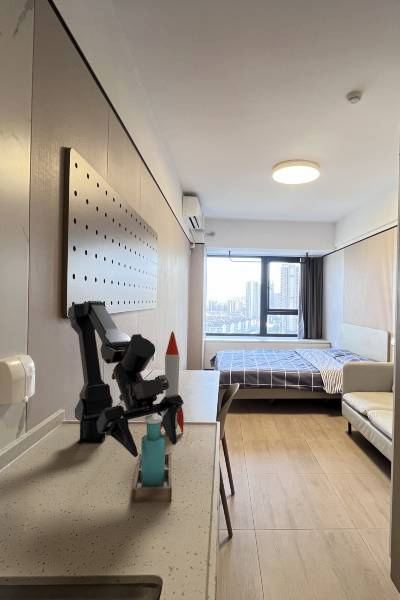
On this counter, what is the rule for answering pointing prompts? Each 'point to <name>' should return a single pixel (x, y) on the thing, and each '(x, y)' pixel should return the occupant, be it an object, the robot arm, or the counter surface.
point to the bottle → (153, 454)
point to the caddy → (153, 492)
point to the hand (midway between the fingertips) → (156, 449)
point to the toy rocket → (173, 376)
